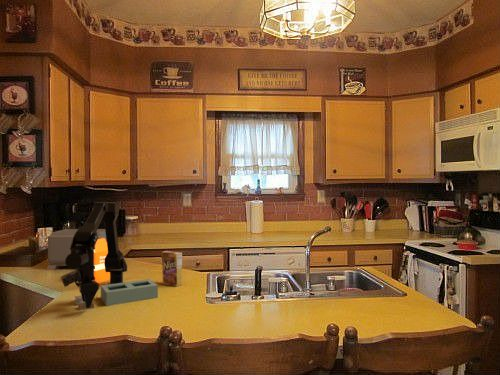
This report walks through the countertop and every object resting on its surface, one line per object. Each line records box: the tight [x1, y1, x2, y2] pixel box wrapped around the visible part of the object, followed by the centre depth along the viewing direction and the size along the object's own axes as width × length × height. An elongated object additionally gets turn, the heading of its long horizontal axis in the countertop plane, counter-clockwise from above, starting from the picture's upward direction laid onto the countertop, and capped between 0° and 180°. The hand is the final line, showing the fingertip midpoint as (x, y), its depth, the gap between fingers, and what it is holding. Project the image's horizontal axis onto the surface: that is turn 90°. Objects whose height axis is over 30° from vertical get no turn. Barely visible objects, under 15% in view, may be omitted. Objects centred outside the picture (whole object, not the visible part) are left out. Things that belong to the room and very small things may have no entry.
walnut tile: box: [77, 300, 95, 311], centre depth 142 cm, size 4×5×2 cm
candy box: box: [161, 250, 183, 288], centre depth 175 cm, size 9×4×15 cm, turn 60°
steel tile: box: [74, 295, 83, 304], centre depth 151 cm, size 4×5×2 cm
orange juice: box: [92, 238, 110, 284], centre depth 183 cm, size 8×9×20 cm
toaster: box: [45, 228, 107, 271], centre depth 215 cm, size 19×35×20 cm, turn 89°
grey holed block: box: [100, 278, 159, 307], centre depth 155 cm, size 12×20×5 cm, turn 122°
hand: (86, 304), depth 142 cm, fingers open, 9 cm apart
